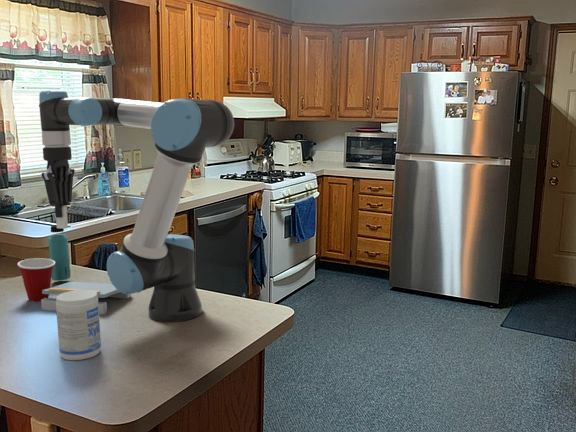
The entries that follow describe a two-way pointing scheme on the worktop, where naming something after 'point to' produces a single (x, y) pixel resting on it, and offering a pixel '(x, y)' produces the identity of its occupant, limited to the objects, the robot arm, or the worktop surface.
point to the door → (83, 288)
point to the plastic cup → (36, 276)
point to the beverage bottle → (59, 254)
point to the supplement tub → (78, 324)
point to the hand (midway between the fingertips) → (62, 227)
